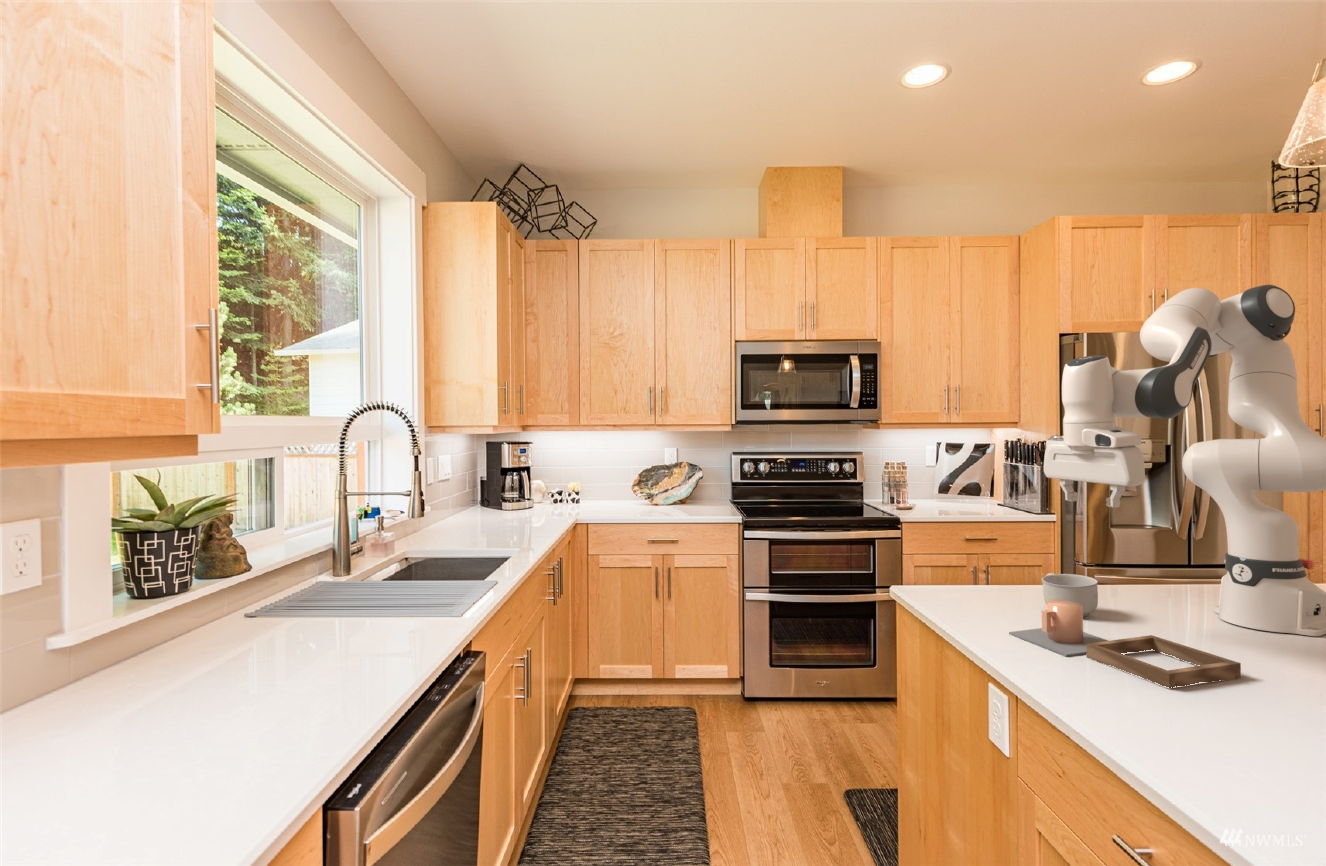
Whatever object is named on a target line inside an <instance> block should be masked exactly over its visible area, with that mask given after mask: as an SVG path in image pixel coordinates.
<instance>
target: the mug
mask: <svg viewBox="0 0 1326 866" xmlns="http://www.w3.org/2000/svg"><path fill="white" fill-rule="evenodd" d="M1046 607H1047V608H1046V609H1045V610H1041V628H1042V631H1044V632H1047V633H1048V638H1049V639H1050V640H1053V641H1055V642H1059V643H1065V644H1080V643H1083V632H1084V617H1083V606H1082V605H1081V604H1079V603H1076V602H1072V601H1065V600H1051V601H1048V602H1047V605H1046Z"/></svg>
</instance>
